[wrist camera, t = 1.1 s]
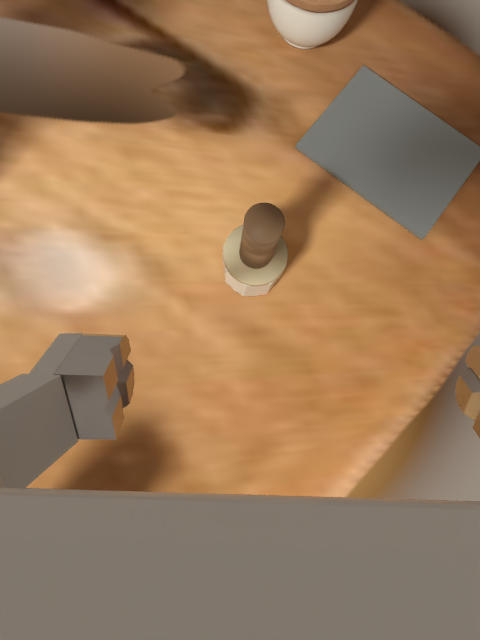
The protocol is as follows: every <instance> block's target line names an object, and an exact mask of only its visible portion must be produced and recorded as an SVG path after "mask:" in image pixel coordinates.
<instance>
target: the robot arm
mask: <svg viewBox="0 0 480 640" xmlns="http://www.w3.org/2000/svg"><path fill="white" fill-rule="evenodd" d="M130 351H131V349H130V344H129V339H128V338H127V336H126V335H108V334H87V333H85V334H83V333H62V334H59V335H58V336H57V338H56V339H55V340H54V342H53V343H52V344H51V345H50V347H49V348H48V349H47V351H46V352H45V353H44V355H43V356H42V357H41V359H40V360H39V361H38V362H37V364H36V365H35V366H34V368H33V369H32V370H31V372H30V373H29V374H21V375H19V376H17V377H15V378H13V379H11V380H9V381H7V382H5V383H3V384H1V385H0V640H480V502H478V501H477V502H476V501H447V500H416V499H415V500H414V499H381V498H347V497H312V496H277V495H243V494H209V493H175V492H141V491H107V490H73V489H39V488H26V487H27V486H28V485H29V484H30V483H31V482H32V481H34V480H35V479H36V478H37V477H38V476H39V475H40V474H42V473H43V472H44V471H45V470H46V469H47V468H48V467H50V466H51V465H52V464H53V463H54V462H55V461H56V460H57V459H59V458H60V457H61V456H62V455H63V454H64V453H65V452H67V451H68V450H69V449H70V448H71V447H72V446H73V445H75V444H76V443H77V442H78V439H116V438H117V436H118V433H119V430H120V428H121V425H122V422H123V420H124V413H123V408H124V407H126V406H127V405H128V404H130V401H131V398H132V395H133V388H134V369H133V365H132V364H131V363H130V362H129V361H128V360H127V358H128V356H129V354H130ZM465 360H466V363H467V365H468V367H469V368H468V369H466V370H465V371H464V372H463V373H461V374H460V375H459V378H458V381H457V384H456V399H457V402H458V405H459V407H460V409H461V410H462V412H463V413H464V414H465V415H467V416H468V417H470V418H471V419H473V420H474V421H475V422H474V425H473V429H474V430H475V432H476V433H477V435H478V436H479V438H480V346H473V347H472V349H470V351H469V352H468V355H467V357H466V359H465Z"/></svg>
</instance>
